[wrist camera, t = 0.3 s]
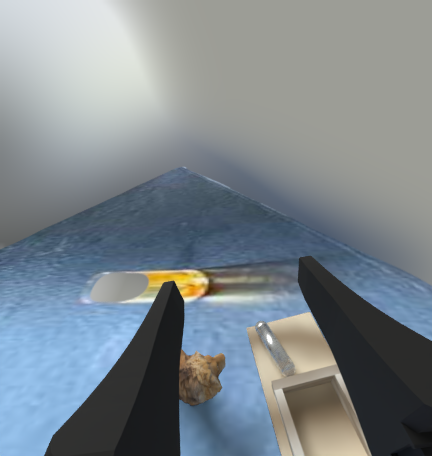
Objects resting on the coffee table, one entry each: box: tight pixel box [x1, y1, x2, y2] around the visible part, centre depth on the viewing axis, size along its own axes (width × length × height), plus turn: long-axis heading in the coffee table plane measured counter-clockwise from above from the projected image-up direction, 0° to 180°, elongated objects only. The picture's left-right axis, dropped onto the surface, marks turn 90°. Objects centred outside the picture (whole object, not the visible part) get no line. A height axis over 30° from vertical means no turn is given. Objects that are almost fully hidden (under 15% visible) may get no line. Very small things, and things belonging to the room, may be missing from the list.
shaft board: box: [247, 312, 372, 456], centre depth 20 cm, size 21×9×4 cm, turn 9°
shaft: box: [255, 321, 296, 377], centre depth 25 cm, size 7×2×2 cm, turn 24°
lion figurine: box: [179, 349, 225, 406], centre depth 25 cm, size 15×5×9 cm, turn 59°
